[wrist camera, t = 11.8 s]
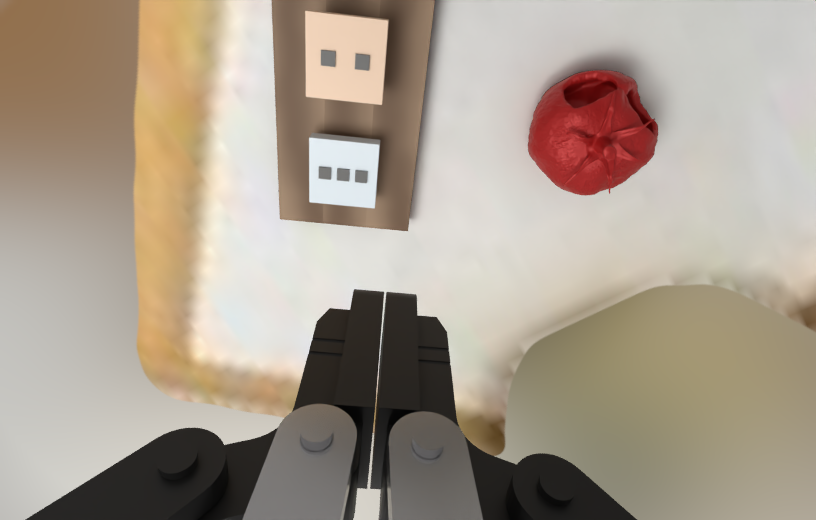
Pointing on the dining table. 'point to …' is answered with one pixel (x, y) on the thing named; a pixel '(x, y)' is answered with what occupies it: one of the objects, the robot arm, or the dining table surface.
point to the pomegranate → (591, 132)
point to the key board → (352, 110)
